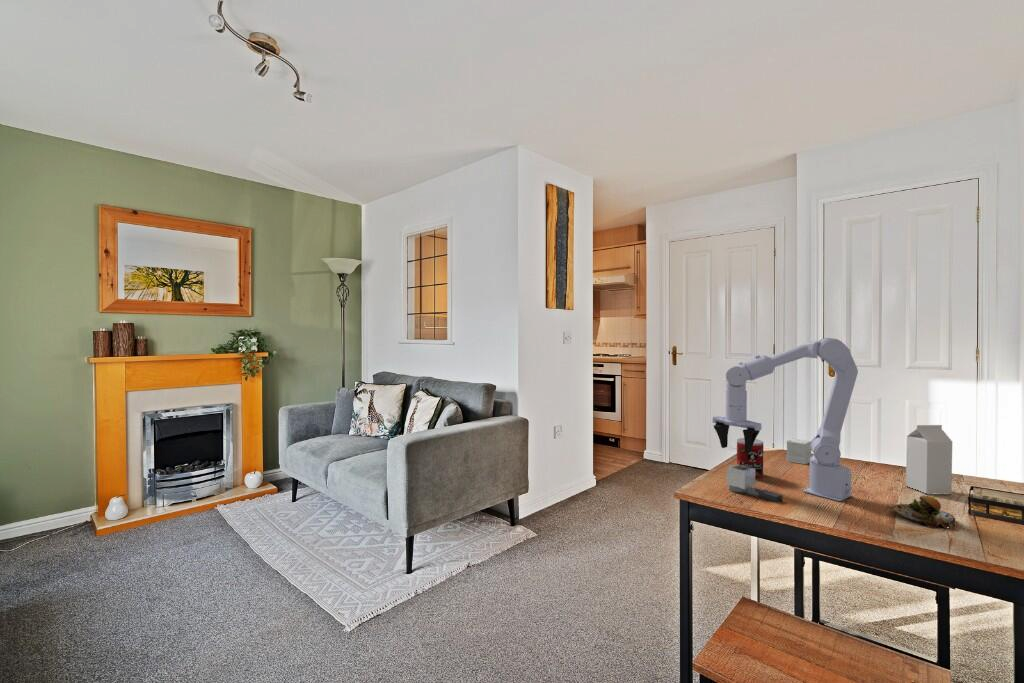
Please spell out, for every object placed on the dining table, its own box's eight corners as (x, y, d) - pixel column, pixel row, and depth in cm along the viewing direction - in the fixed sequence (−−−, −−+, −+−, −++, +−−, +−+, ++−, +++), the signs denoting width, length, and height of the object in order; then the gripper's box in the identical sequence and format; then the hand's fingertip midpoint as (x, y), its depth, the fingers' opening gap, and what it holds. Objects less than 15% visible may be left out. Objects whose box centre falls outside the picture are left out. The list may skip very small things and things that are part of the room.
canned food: (738, 477, 151) (739, 442, 150) (734, 470, 158) (735, 437, 158) (765, 479, 148) (766, 444, 148) (760, 472, 156) (760, 438, 156)
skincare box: (811, 461, 168) (811, 441, 168) (805, 464, 164) (805, 443, 164) (792, 458, 173) (793, 438, 172) (786, 461, 169) (786, 440, 169)
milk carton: (951, 494, 134) (953, 427, 134) (926, 495, 134) (927, 427, 134) (929, 486, 141) (930, 422, 141) (905, 486, 141) (906, 422, 141)
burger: (892, 507, 126) (893, 479, 126) (953, 518, 118) (954, 488, 118) (892, 521, 116) (892, 491, 116) (957, 534, 109) (958, 501, 109)
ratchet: (724, 489, 139) (725, 474, 139) (736, 485, 142) (736, 470, 142) (773, 504, 127) (774, 486, 127) (785, 499, 131) (785, 482, 131)
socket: (755, 485, 138) (755, 468, 137) (744, 489, 134) (744, 471, 134) (737, 480, 142) (737, 464, 142) (726, 484, 139) (726, 467, 139)
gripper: (706, 403, 149) (706, 447, 149) (752, 410, 137) (752, 457, 137) (720, 401, 153) (719, 443, 153) (765, 407, 141) (765, 453, 141)
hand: (735, 450), depth 146 cm, fingers open, 7 cm apart
